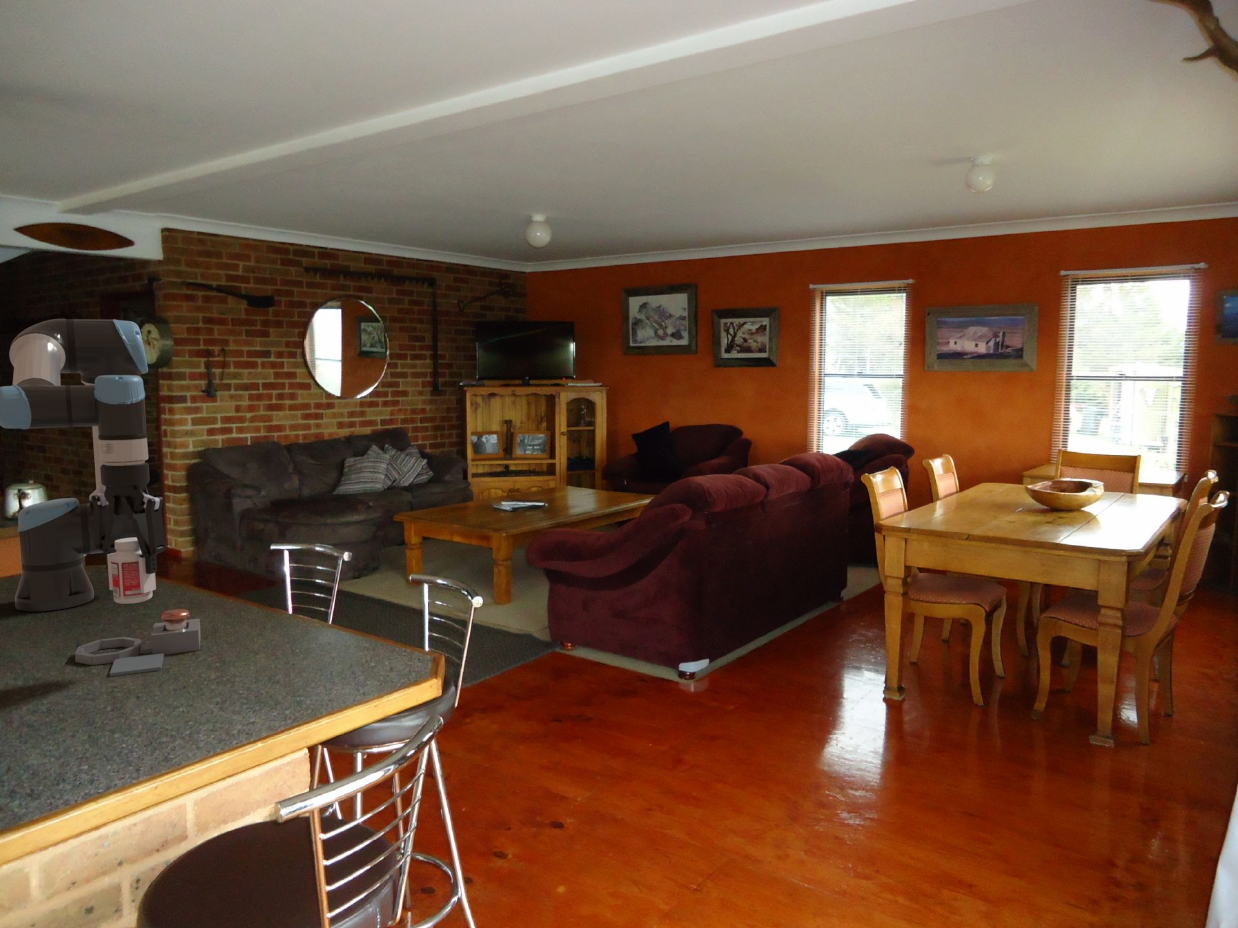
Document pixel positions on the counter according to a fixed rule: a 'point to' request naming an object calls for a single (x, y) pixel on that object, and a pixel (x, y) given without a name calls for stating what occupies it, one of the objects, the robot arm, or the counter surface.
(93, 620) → the counter surface
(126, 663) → the mat
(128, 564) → the pill bottle
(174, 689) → the counter surface
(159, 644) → the housing
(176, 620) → the plunger
